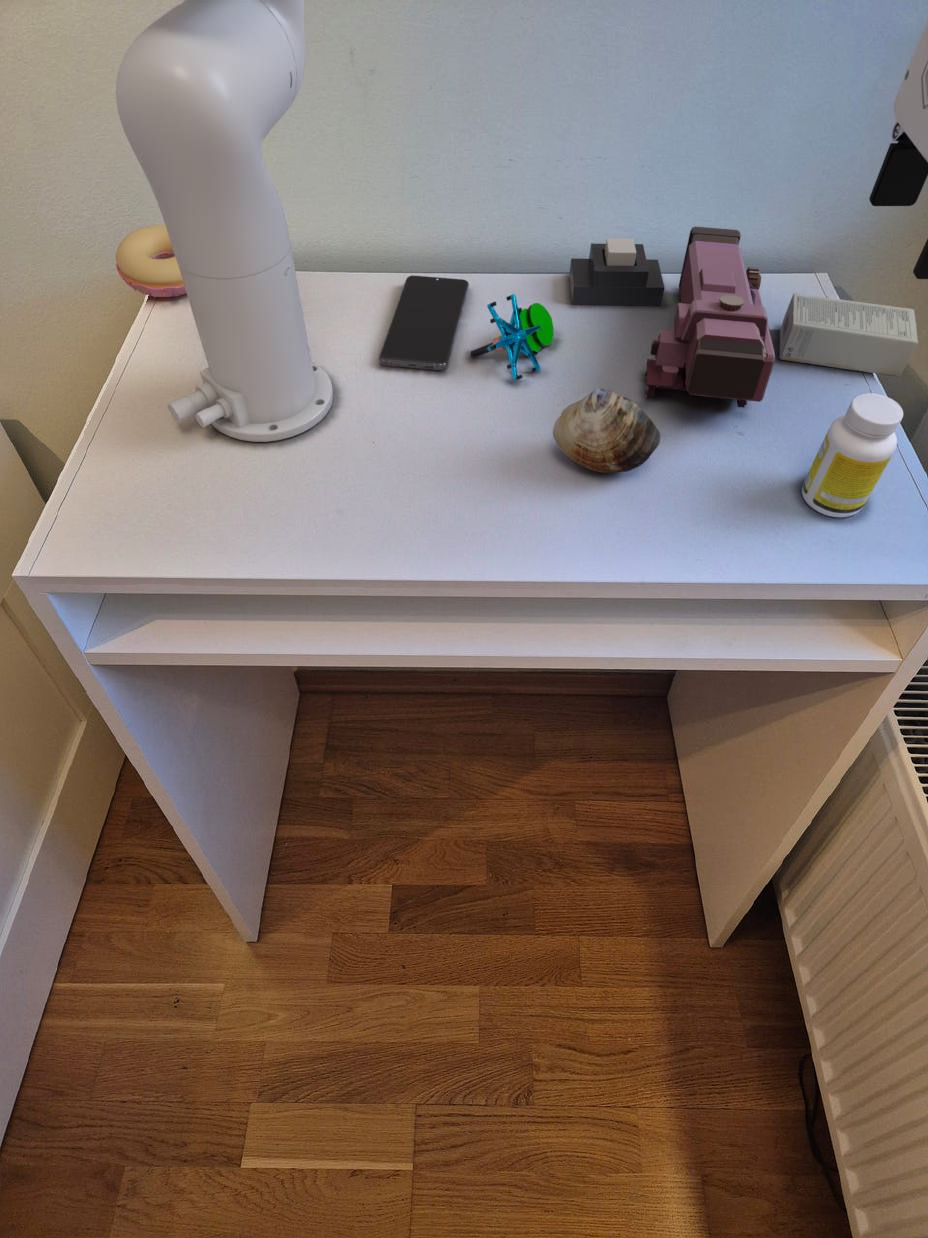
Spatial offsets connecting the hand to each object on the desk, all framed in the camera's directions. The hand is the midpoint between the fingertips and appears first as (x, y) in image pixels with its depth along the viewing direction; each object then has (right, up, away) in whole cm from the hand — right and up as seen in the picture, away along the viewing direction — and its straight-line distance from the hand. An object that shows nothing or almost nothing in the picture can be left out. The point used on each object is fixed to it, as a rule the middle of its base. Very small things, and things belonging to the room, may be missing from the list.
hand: (912, 238), depth 54 cm
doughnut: (-65, +16, +35) cm, 75 cm away
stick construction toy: (-26, +2, +30) cm, 39 cm away
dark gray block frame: (-13, +12, +37) cm, 41 cm away
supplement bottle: (+2, -15, +17) cm, 23 cm away
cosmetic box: (+3, +5, +29) cm, 29 cm away
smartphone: (-35, +6, +33) cm, 48 cm away
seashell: (-18, -12, +19) cm, 29 cm away
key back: (-13, +14, +34) cm, 39 cm away
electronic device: (-6, +1, +29) cm, 30 cm away
